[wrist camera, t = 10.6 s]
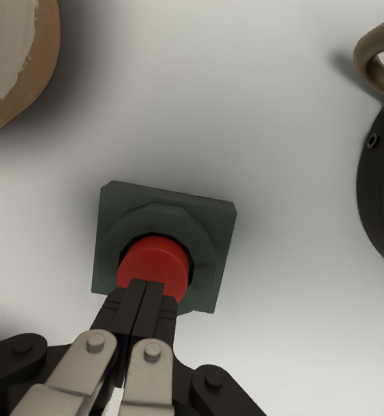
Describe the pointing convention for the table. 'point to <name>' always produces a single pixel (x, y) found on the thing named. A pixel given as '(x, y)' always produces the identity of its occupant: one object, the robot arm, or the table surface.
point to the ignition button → (156, 265)
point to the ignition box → (166, 227)
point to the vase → (26, 52)
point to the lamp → (372, 140)
